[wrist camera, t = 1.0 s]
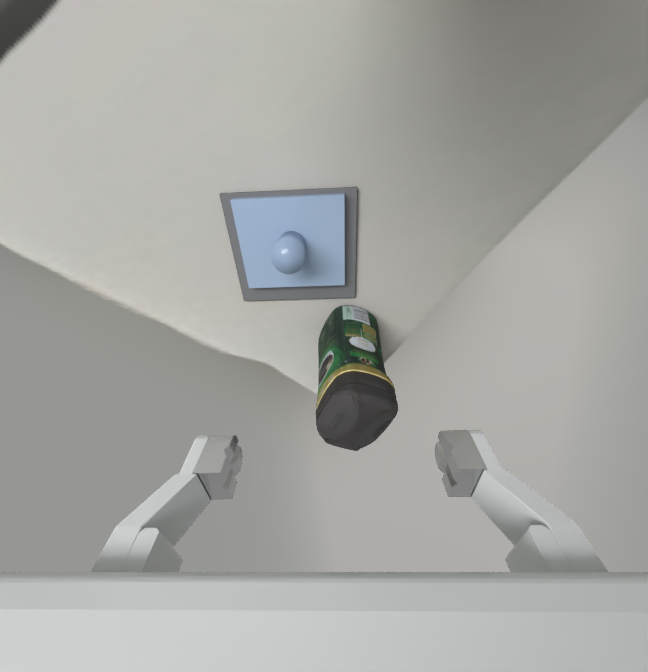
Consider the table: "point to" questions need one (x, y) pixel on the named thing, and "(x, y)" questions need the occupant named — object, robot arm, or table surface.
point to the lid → (292, 239)
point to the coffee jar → (352, 381)
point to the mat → (304, 291)
